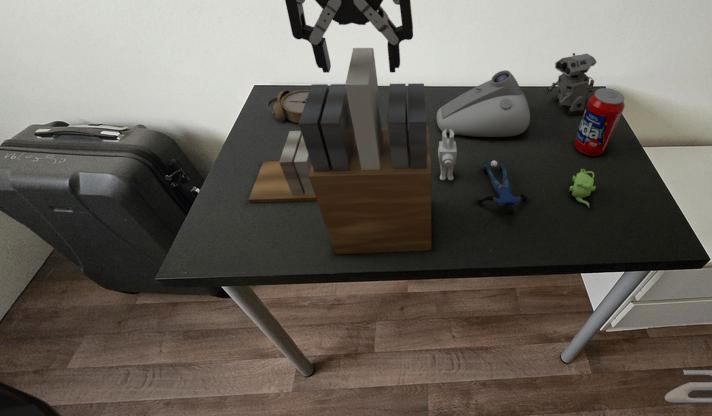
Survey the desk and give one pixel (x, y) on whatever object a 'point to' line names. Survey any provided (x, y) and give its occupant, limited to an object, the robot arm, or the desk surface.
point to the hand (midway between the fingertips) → (360, 69)
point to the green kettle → (582, 186)
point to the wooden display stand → (285, 175)
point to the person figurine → (502, 189)
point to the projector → (487, 109)
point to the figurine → (574, 82)
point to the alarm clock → (289, 105)
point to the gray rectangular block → (365, 107)
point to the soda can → (599, 121)
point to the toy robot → (447, 155)
